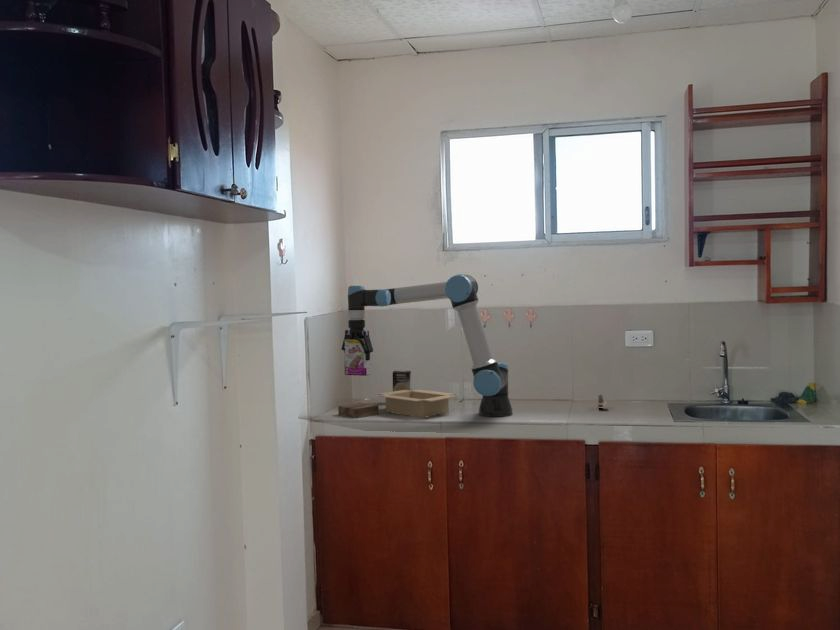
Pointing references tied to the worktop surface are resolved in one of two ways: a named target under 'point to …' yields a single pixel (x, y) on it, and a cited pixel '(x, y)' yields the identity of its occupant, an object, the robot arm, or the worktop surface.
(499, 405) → the robot arm
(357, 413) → the plinth
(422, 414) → the carton
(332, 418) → the worktop surface
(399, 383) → the coffee box
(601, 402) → the architectural model
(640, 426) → the worktop surface
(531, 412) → the worktop surface
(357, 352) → the candy bar box
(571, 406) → the worktop surface
